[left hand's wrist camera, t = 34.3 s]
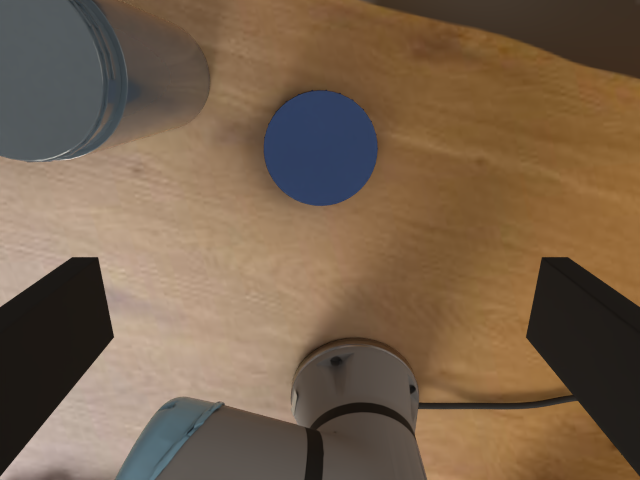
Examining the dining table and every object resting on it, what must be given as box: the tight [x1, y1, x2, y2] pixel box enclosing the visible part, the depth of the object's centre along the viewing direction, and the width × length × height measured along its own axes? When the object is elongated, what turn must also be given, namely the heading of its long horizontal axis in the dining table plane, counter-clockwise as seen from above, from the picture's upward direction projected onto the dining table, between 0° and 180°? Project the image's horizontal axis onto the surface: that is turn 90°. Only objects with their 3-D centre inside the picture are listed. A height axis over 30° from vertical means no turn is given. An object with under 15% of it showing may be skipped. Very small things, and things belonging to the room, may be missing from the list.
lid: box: [264, 90, 378, 206], centre depth 40 cm, size 11×11×2 cm
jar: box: [0, 0, 210, 162], centre depth 30 cm, size 10×10×20 cm
